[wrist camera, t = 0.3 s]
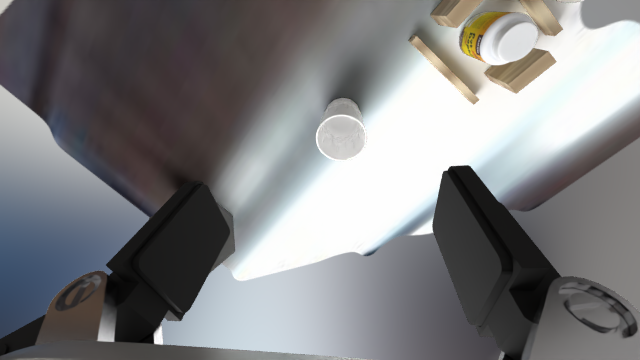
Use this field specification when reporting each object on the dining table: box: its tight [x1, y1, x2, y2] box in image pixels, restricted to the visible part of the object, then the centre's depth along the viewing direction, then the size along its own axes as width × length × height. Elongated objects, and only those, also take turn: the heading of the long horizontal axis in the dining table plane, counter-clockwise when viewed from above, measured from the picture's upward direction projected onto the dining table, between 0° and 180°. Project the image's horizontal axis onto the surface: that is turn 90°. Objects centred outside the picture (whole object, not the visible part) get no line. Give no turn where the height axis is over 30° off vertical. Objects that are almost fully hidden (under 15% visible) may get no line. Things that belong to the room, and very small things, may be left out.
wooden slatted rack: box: [409, 0, 563, 104], centre depth 31 cm, size 15×13×7 cm
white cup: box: [316, 98, 367, 161], centre depth 40 cm, size 8×8×10 cm
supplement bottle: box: [459, 12, 538, 65], centre depth 30 cm, size 6×6×10 cm
